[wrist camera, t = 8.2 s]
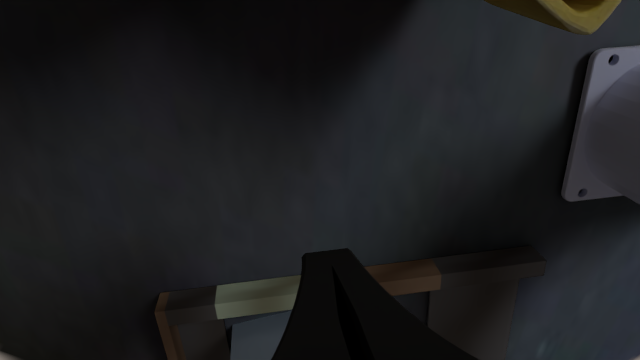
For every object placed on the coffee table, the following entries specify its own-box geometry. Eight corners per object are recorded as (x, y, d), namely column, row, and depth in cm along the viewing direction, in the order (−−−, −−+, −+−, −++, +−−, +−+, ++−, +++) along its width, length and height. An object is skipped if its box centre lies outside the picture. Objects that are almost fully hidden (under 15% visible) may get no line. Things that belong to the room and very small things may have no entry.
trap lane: (531, 245, 25) (546, 260, 24) (506, 378, 30) (518, 397, 28) (160, 292, 23) (154, 312, 22) (196, 427, 28) (193, 450, 26)
